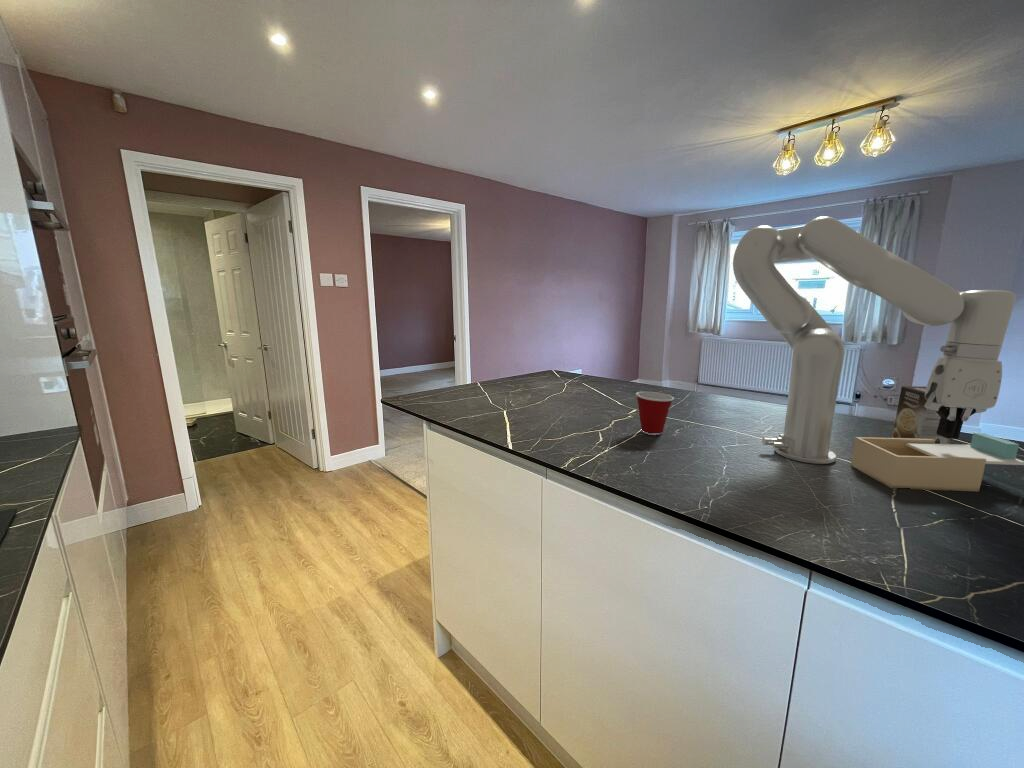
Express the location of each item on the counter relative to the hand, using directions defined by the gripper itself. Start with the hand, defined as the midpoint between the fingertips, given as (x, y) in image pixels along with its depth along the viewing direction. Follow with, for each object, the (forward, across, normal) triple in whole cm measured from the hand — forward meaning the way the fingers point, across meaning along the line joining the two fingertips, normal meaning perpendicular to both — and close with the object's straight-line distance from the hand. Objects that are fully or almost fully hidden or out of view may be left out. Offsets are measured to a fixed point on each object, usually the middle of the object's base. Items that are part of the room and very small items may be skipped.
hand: (946, 436), depth 85 cm
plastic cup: (+12, -54, +26) cm, 62 cm away
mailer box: (+10, -6, -1) cm, 11 cm away
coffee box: (+10, +9, +17) cm, 22 cm away
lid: (+4, +3, -1) cm, 5 cm away
